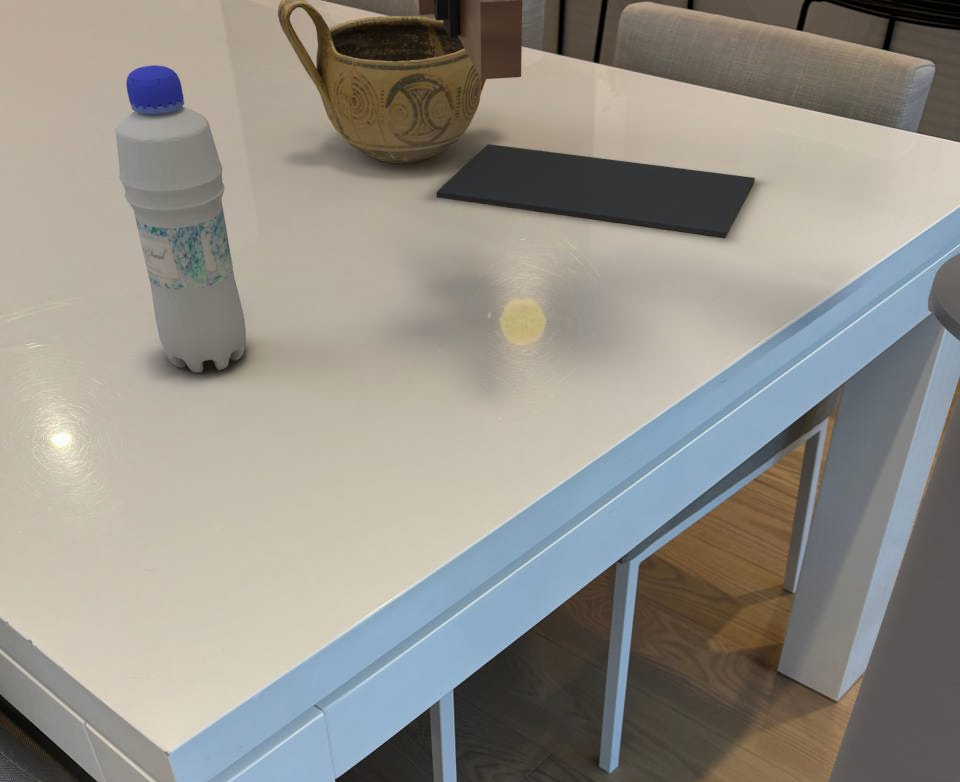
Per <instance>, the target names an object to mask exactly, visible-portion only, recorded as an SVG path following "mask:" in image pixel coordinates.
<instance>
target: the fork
mask: <svg viewBox="0 0 960 782" xmlns="http://www.w3.org/2000/svg"><path fill="white" fill-rule="evenodd" d="M413 4H414V6H415V8H416V10H417V12H418V16H426V15H428V16H429V15H434V2H433V0H413ZM458 37H459V39H460V41H461V43H462V45H463V47H464V48H465V50H466V52H467V54H468V56H469V58H470V60H471V61H472V63H473V65H474V67H475V69H476V71H477V72H478V74H479V76H480V78H481V79H486V80H496V79H513V78H514V79H515V78H521V77H522V62H523V61H522V52H523V50H522V49H523V0H460V35H458Z"/></svg>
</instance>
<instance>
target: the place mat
mask: <svg viewBox="0 0 960 782" xmlns="http://www.w3.org/2000/svg"><path fill="white" fill-rule="evenodd" d="M755 181H756V177H752V176H743V175H737V174H729V173H721V172H711V171H706V170H705V171H704V170H698V169H697V170H695V169H690V168H689V169H688V168H681V167H674V166H673V167H672V166H667V165H666V166H665V165H657V164H650V163H649V164H648V163H642V162H633V161H625V160H617V159H609V158H602V157H601V158H600V157H594V156H585V155H578V154H569V153H563V152H553V151H546V150H538V149H529V148H523V147H522V148H521V147H514V146H508V145H507V146H506V145H499V144H491V143H487V144H486V145H485V146H484V147H483V148H482V149H481V150H479V152H477V153H476V154H475V155H474V156H473V157H472V158H471V159H469V161H468V162H466V164H465V165H464V166H463V167H461V169H459V170H458V171H457V172H456V173H455V174H453V176H452V177H451V178H450V179H449V180H448V181H446V182H445V183H444V184H443V185H442V186H441V187H440V188H439V189H438V190H437V191H436V197H437V198H443V199H450V200H457V201H465V202H471V203H479V204H486V205H494V206H499V207H500V206H501V207H506V208H513V209H515V208H516V209H521V210H527V211H535V212H540V213H541V212H542V213H549V214H555V215H556V214H557V215H564V216H570V217H578V218H584V219H590V220H599V221H606V222H611V223H612V222H613V223H620V224H626V225H634V226H640V227H646V228H653V229H654V228H655V229H662V230H668V231H676V232H683V233H690V234H697V235H705V236H710V237H711V236H712V237H717V238H719V237H720V238H726V237H727V235H728V233H729V231H730V230H731V227H732V226H733V223H734V222H735V220H736V218H737V216H738V214H739V212H740V211H741V208H742V207H743V205H744V203H745V201H746V199H747V197H748V196H749V194H750V191H751V189H752V187H753V186H754V184H755Z"/></svg>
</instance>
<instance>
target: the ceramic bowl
mask: <svg viewBox="0 0 960 782" xmlns="http://www.w3.org/2000/svg"><path fill="white" fill-rule="evenodd" d="M298 8H301V9H303V10H304V11H305V12H306V13H307V15H308V16H309V17H310V19H311V20H312V23H313V24H314V26H315V27H314V28H315V29H316V37H317V38H316V40H317V49H316V61H315V63H316V65H315V63H314V62H313V59H312V58H311V56H310V54H309V53H308V51H307V49H306V48H305V46H304V44H303V42H302V41H301V39H300V38H299V36H298V35H297V32H296V31H295V29H294V27H293V24H292V22H291V15H292V14H293V12H294V11H295V10H296V9H298ZM277 17H278V21H279V24H280V27H281V29H282V31H283V33H284V35H285V37H286V39H287V40H288V42H289V44H290V45H291V47H292V49H293V51H294V53H295V54H296V56H297V58H298V60H299V62H300V63H301V65H302V67H303V68H304V70H305V72H306V73H307V75H308V76H309V78H310V80H311V81H312V82H313V84H314V85H315V87H316V89H317V91H318V93H319V95H320V96H319V97H320V99H321V101H322V104H323V108H324V110H325V113H326V116H327V118H328V120H329V121H330V123H331V125H332V126H333V128H334V129H335V131H336V132H337V134H339V135H340V136H341V138H342V139H343V140H344V141H345V142H346V143H347V144H348V145H350V146H351V147H352V148H353V149H356V150H357V151H359V153H362V154H363V155H366V156H369V157H370V158H373V159H376V160H378V161H382V162H386V163H392V164H411V163H417V162H422V161H424V160H428V159H431V158H433V157H435V156H437V155H439V154H441V153H443V152H444V151H446V150H448V149H449V148H450V147H452V146H453V145H454V144H455V143H457V141H459V140H460V139H461V137H463V135H464V134H465V132H466V131H467V129H469V126H470V125H471V124H472V121H473V119H474V117H475V116H476V113H477V110H478V108H479V106H480V101H481V95H482V92H483V89H484V86H485V84H486V81H487V79H481V78H480V76H479V74H478V72H477V71H476V69H475V67H474V65H473V63H472V61H471V60H470V58H469V56H468V54H467V52H466V50H465V48H464V47H463V45H462V43H461V41H460V39H459V37H458V38H449V36H448V34H447V32H446V30H445V28H444V24H443V20H437V21H436V19H435V17H426V16H423V15H388V16H370V17H364V18H363V17H362V18H356V19H350V20H347V21H344V22H341V23H336V24H334V25H332V26H331V25H330V26H329V25H328V24H327V21H325V19H324V16H322V14H321V13H320V12H319V10H317V9H316V7H315V6H314V5H312V4H310V3H309V2H308V1H306V0H280V2H279V4H278V7H277Z"/></svg>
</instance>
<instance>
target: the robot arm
mask: <svg viewBox="0 0 960 782" xmlns="http://www.w3.org/2000/svg"><path fill="white" fill-rule="evenodd" d="M433 2H434V14H433V15H434V18H435V19H436V21H437V20H443V24H444V28H445V30H446V32H447V34H448V36H449V38H458V35H460V0H433Z"/></svg>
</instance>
